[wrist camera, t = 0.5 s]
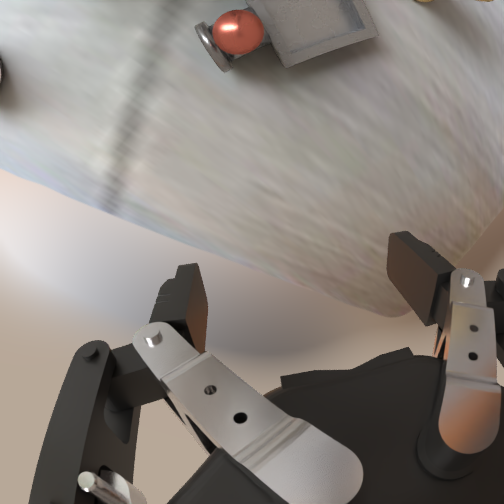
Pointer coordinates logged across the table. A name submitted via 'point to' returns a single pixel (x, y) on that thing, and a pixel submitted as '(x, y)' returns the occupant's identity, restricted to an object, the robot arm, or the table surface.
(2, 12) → the table surface
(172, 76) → the table surface
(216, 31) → the grey piece
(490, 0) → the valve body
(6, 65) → the table surface
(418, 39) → the table surface
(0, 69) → the spread jar
